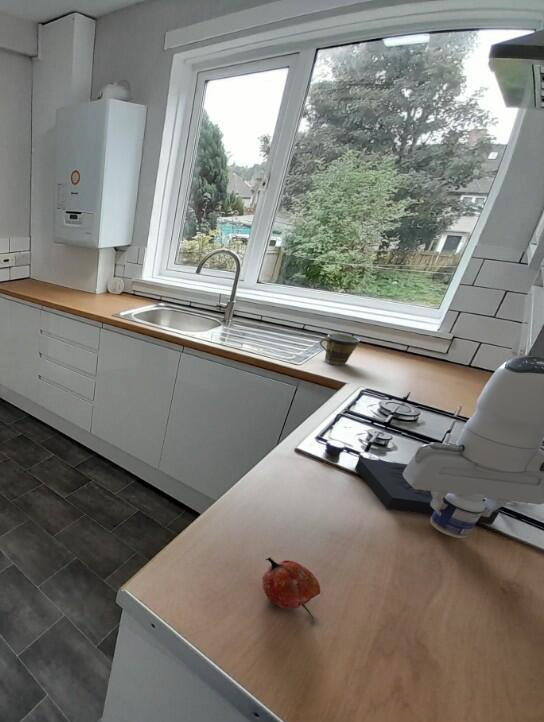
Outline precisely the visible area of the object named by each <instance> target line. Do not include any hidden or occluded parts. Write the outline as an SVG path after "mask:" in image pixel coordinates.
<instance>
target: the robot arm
mask: <svg viewBox="0 0 544 722" xmlns="http://www.w3.org/2000/svg"><path fill="white" fill-rule="evenodd" d="M459 434H460V435H458V438H457V440H456V442H455V443H441V442H435V441H434V442H430V443H427V444H424V445H421V446H419V447H417V450H416V452H415V453H414V455H413V456H412V457H411V459H410V461H409V462H408V463H407V464H408V465H407V467H406V468H405V470H404V472H403V477H404V478H405V480H406V481H407V482H408V483H409V484H410V485H411V486H412V487H413V488H414V489H418V490H425V491H431V494H432V497H433V499H432V501H431V503H430V505H431V507H432V508H433V509H434V510H439V511H446V508H447V507H448V504H447V503H446V502H445V501H444V500H443V499H442V496H443V497H446V495H447V494H448V493H450V494H458V495H467V496H471V495H473V494H482V495H484V500H485V501H484V503H485V509H484V511H483V513H482V514H481V516H485V517H489V516H490V515H491V513H492V512H493V510H498V509H501V508H502V507H505V506H506V505H507V503H508V502H518V503H525V504H531V505H532V504H533V505H543V504H544V445H543V443H544V356H540V355H526V356H519V357H513V358H510V359H508V360H506V361H505V362H503V363H502V364H501V365H500V366H499V367H498V368H497V369H496V370H495V371H494V372H493V374H492V375H491V376H490V378H489V379H488V380H487V382H486V384H485V386H484V387H483V389H482V390H481V393H480V395H479V396H478V399H477V400H476V405H475V412H474V414H473V415H472V416H471V417H470V418H469V419H468V420H467V421H466V422H465V424H464V426H463V428H462V430H461V432H460V433H459Z"/></svg>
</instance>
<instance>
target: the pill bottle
mask: <svg viewBox="0 0 544 722" xmlns="http://www.w3.org/2000/svg"><path fill="white" fill-rule="evenodd" d="M442 499H443V500H444V501H445V502H446V503H447V504H448V507H447V508H446V511H439V510H435V511H434V513H433V515H431V517H430V519H429V521H430V524H431V525H432V527H434V528H435V529H436V530H438V531H439V532H441V533H442V534H444V535H446V536H450V537H453V538H458V539H465V538H467V537H469V536H470V534H471V532H472V531H473V529H474V527H475V526H476V524H477V523H478V522H477V521H478V519H479V517H480V516H481V514H482V513H483V511H484V509H485V503H484V502H483V501H482V500H483V499H484V500H485V498H484V495H482V494H473V495H471V496H467V495H458V494H450V493H448V494H447V495H446V497H443V496H442Z"/></svg>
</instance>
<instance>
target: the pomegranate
mask: <svg viewBox="0 0 544 722" xmlns="http://www.w3.org/2000/svg"><path fill="white" fill-rule="evenodd" d="M265 561H268V562H269V563H270V566H269V567H268V569H267V570H266V571H265V572H264V574H263V575H262V577H261V578H262V579H261V580H262V581H261V583H262V589H263V591H264V593H265V595H266V597H267V599H268V600H269V602H271V603H272V604H274V605H275V606H276V607H279V608H280V609H284V610H285V609H287V608H291V609H298V608H300V606H301V607H302V608H303V609H305V611H306V612H307V613H308V614H309V616H310V618H311V619H312V620H315V617H314V616H313V615H312V614H311V612H310V610H309V609H308V607H307V606H306V604H307V603H309V602H311V600H312V599H314V598H315V597H317V596H318V595H320V594H321V586H320V583H319V581H318V579H317V577H316V576H315V575H314V574H313V572H312V571H310V569H309V568H307V567H305V566H303V565H302V564H300V563H298V562H296V561H294V560H287V559H286V560H285V559H284V560H282V561H280V562H276V561H275V560H273V559H272V557H271V556H270V557H268V558H266V559H265Z"/></svg>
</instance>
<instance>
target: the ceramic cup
mask: <svg viewBox="0 0 544 722" xmlns="http://www.w3.org/2000/svg"><path fill="white" fill-rule="evenodd" d="M324 341H326V345H325V346H326V347H325V346H323V344H322V343H323V342H324ZM360 341H361V340H360V339H359V338H358V337H355V336H353V335H349V334H344V333H329V334H327V337H326V338H322V339H321V340H320V341H319V345H320V347H321V348H322V349H323V350H324V351H325V356H324V362H326V363H327V364H330V365H334V366H345V365H346V364H347V362H348V361H349V359H350V358H351V356H352V354H353V352H354V351H355V350H356V348H357V347H358V345H359V344H360Z"/></svg>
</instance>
